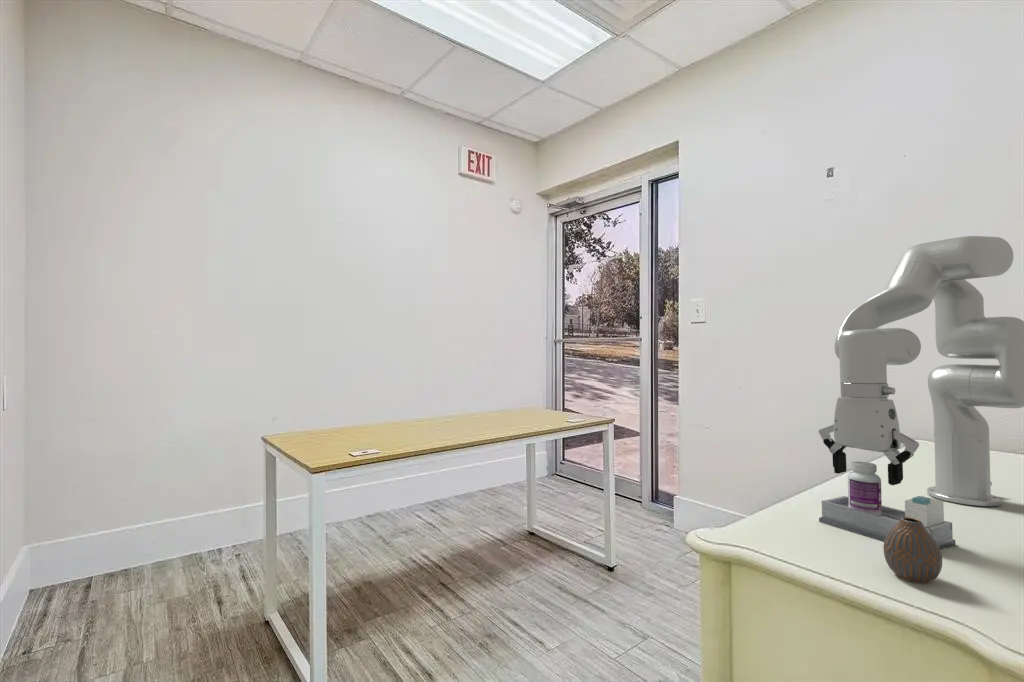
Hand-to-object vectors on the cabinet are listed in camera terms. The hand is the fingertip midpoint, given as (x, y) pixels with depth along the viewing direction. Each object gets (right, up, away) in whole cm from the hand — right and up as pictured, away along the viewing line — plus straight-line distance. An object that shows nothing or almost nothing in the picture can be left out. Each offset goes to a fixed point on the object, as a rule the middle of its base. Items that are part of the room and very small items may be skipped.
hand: (866, 477), depth 95 cm
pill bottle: (-1, -7, 0) cm, 7 cm away
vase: (-9, -9, -22) cm, 25 cm away
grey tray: (+1, -10, -3) cm, 10 cm away
